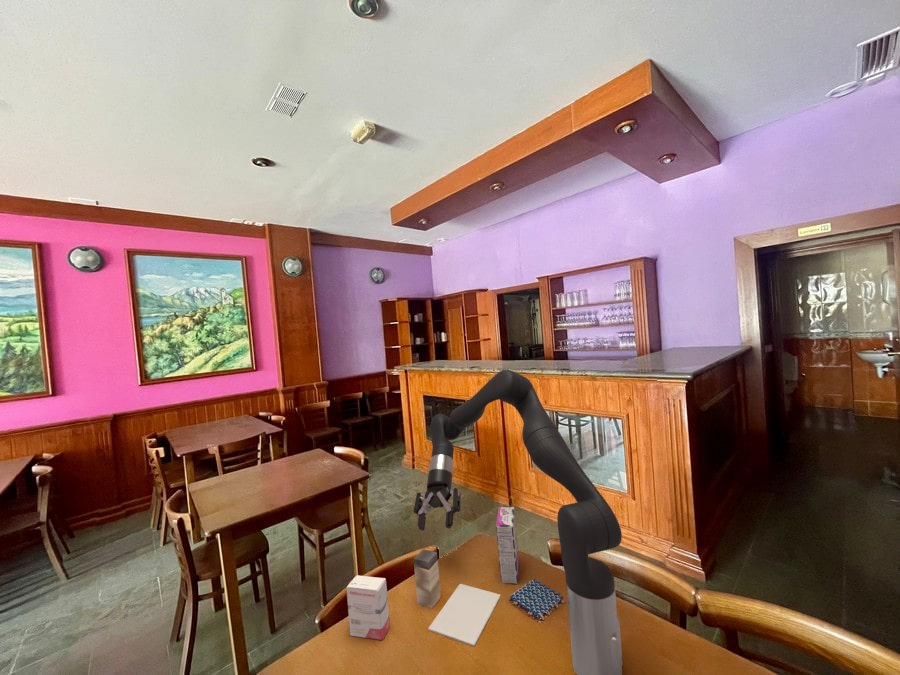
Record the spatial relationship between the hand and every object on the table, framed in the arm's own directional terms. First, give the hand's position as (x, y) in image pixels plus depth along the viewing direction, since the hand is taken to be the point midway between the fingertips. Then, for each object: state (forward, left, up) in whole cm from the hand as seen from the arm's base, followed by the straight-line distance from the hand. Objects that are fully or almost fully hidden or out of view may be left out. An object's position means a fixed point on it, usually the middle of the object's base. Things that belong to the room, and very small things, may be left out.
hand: (434, 528), depth 103 cm
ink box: (+7, +20, -16) cm, 27 cm away
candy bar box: (-17, -13, -16) cm, 26 cm away
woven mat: (-27, -4, -16) cm, 32 cm away
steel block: (-1, +6, -16) cm, 17 cm away
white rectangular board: (-12, +6, -16) cm, 21 cm away
